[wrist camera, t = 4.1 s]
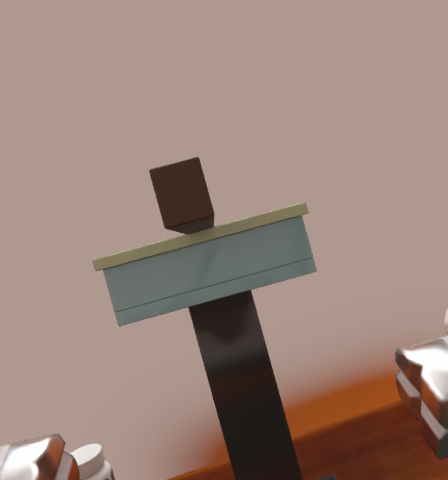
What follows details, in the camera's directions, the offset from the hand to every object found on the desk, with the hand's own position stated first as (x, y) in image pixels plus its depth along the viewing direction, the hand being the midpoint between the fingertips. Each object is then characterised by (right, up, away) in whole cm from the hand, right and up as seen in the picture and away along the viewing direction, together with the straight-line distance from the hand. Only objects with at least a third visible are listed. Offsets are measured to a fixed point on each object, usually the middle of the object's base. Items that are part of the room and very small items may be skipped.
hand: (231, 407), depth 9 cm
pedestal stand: (+5, -21, +23) cm, 32 cm away
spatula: (-2, +4, +18) cm, 18 cm away
